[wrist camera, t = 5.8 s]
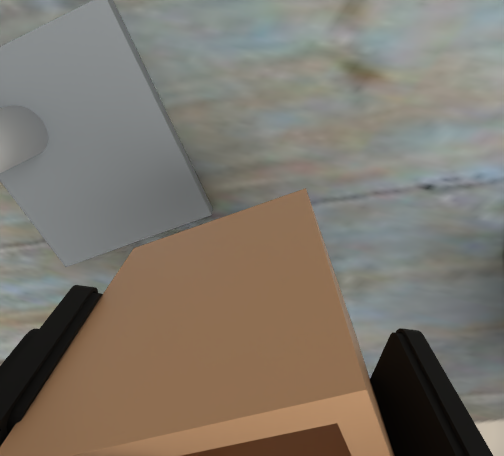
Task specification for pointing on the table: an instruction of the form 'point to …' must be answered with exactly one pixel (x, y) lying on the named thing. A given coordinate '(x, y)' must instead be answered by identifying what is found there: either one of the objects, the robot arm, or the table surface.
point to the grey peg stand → (90, 138)
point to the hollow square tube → (214, 352)
